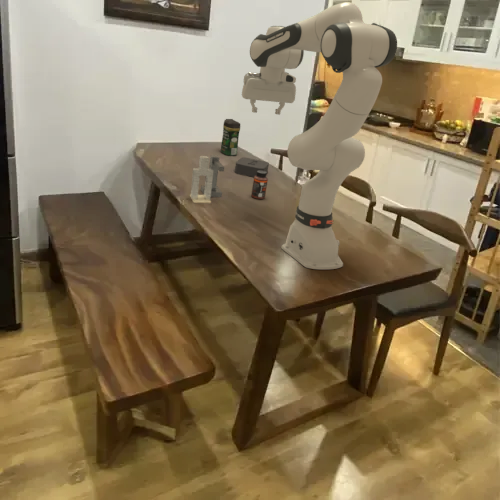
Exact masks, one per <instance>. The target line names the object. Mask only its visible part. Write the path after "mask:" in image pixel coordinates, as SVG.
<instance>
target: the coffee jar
mask: <svg viewBox="0 0 500 500" xmlns="http://www.w3.org/2000/svg"><path fill="white" fill-rule="evenodd" d="M222 127H223V130H222V139H221V145H220V152H221V153H222V154H223V155H226V156H230V157H234V156H237V155H238V146H239V136H240V131H241V122H239V121H236V120H235V119H233V118H225V119H224V121H223V126H222Z"/></svg>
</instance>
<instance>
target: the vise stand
mask: <svg viewBox="0 0 500 500" xmlns="http://www.w3.org/2000/svg"><path fill="white" fill-rule="evenodd" d="M208 169H212V170H213V180H212V189H211V198H222V197H223V192H222V190H221V189H220V188H219V186H217V185H218V184H217V182H218V174H219V172H225V166H224V164H222V162H220V156H219V155H217V154H216V155H214V154H213V155H212V154H210V156H209V166H208ZM204 189H205V185H201V186H200V191H201V193H202V195H204Z"/></svg>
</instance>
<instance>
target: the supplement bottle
mask: <svg viewBox="0 0 500 500" xmlns="http://www.w3.org/2000/svg"><path fill="white" fill-rule="evenodd" d="M266 173H267V174H268V172H265V171H257V175H256V176H255V177H253V181H252V189H251V198H254V199H256V200H257V199H258V200H263V199H265V198H266V193H267V186H268V180H269V178H268V176H267V174H266Z"/></svg>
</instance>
